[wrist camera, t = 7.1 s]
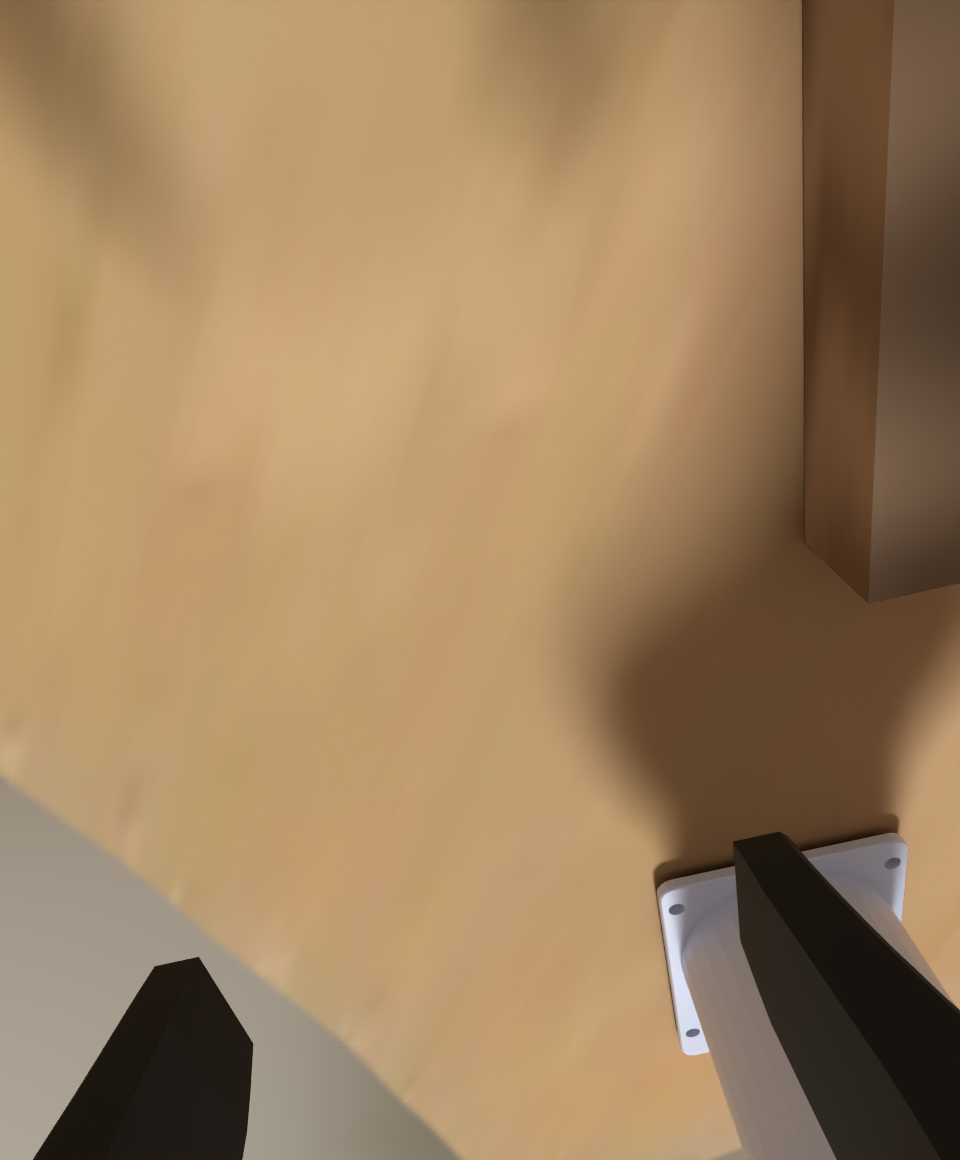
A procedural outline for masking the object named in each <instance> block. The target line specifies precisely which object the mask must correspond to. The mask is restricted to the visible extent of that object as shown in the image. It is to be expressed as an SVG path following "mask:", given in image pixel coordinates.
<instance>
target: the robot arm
mask: <svg viewBox="0 0 960 1160" xmlns="http://www.w3.org/2000/svg"><path fill="white" fill-rule="evenodd" d="M733 848H734V862H735V866H732V867H727V868H723V869H718V870H713V871H709V872H704V873H699V874H695V875H690V876H685V877H681V878H676V879H672V880H668V881H665V882H664V883H663V884H661V885H660V886H659V888H658V889H657V898H658V904H659V911H660V918H661V925H662V931H663V938H664V945H665V952H666V958H667V965H668V972H669V979H670V985H671V992H672V999H673V1005H674V1012H675V1019H676V1026H677V1032H678V1039H679V1044H680V1047H681V1050H682V1052H683V1053H685V1054H687V1055H698V1054H702V1053H707V1052H710V1054H711V1057H712V1060H713V1063H714V1066H715V1069H716V1072H717V1075H718V1078H719V1081H720V1084H721V1087H722V1090H723V1093H724V1096H725V1099H726V1102H727V1104H728V1107H729V1110H730V1113H731V1116H732V1119H733V1122H734V1125H735V1128H736V1131H737V1134H738V1137H739V1140H740V1143H741V1146H742V1149H743V1151H744V1154H745V1157H746V1160H960V1010H959V1009H958V1008H957V1007H956V1006H955V1005H954V1003H953V1002H952V1000H951V999H950V997H949V996H948V994H947V993H946V991H945V989H944V988H943V986H942V985H941V983H940V982H939V980H938V979H937V977H936V976H935V974H934V973H933V971H932V969H931V968H930V966H929V965H928V963H927V962H926V960H925V959H924V957H923V956H922V954H921V953H920V951H919V950H918V948H917V946H916V945H915V943H914V942H913V940H912V939H911V937H910V936H909V934H908V933H907V931H906V930H905V928H904V927H903V925H902V911H903V900H904V889H905V878H906V867H907V856H908V845H907V843H906V842H905V840H904V839H903V838H902V837H901V836H900V835H899V834H896V833H886V834H881V835H876V836H872V837H867V838H862V839H858V840H853V841H848V842H844V843H839V844H835V845H830V846H825V847H821V848H816V849H811V850H807V851H802V852H801V851H800V850H799V849H798V848H797V846H796V845H795V844H794V843H793V842H792V841H791V839H790V838H789V837H788V836H786V835H784V834H783V833H781V832H776V833H771V834H766V835H762V836H757V837H752V838H748V839H743V840H738V841H734V842H733ZM252 1056H253V1043H252V1041H251V1039H250V1038H249V1036H248V1035H247V1033H246V1032H245V1030H244V1028H243V1027H242V1025H241V1023H240V1022H239V1020H238V1019H237V1017H236V1016H235V1014H234V1012H233V1011H232V1009H231V1008H230V1006H229V1004H228V1003H227V1001H226V1000H225V998H224V996H223V995H222V993H221V992H220V990H219V988H218V987H217V985H216V984H215V982H214V980H213V979H212V977H211V976H210V974H209V973H208V971H207V969H206V968H205V966H204V965H203V963H202V961H201V960H200V958H199V957H196V958H192V959H187V960H183V961H178V962H173V963H169V964H164V965H159V966H155V967H154V969H153V970H152V972H151V973H150V974H149V976H148V978H147V979H146V981H145V983H144V984H143V986H142V987H141V989H140V990H139V992H138V994H137V995H136V997H135V998H134V1000H133V1001H132V1003H131V1005H130V1006H129V1008H128V1009H127V1011H126V1013H125V1014H124V1016H123V1017H122V1019H121V1021H120V1022H119V1024H118V1026H117V1027H116V1029H115V1030H114V1032H113V1034H112V1035H111V1037H110V1039H109V1040H108V1042H107V1043H106V1045H105V1047H104V1048H103V1050H102V1052H101V1053H100V1055H99V1056H98V1058H97V1060H96V1061H95V1063H94V1064H93V1066H92V1067H91V1069H90V1071H89V1072H88V1074H87V1076H86V1077H85V1079H84V1080H83V1082H82V1084H81V1085H80V1087H79V1088H78V1090H77V1092H76V1094H75V1095H74V1096H73V1098H72V1099H71V1101H70V1103H69V1104H68V1106H67V1107H66V1109H65V1110H64V1112H63V1114H62V1115H61V1117H60V1118H59V1120H58V1121H57V1123H56V1124H55V1126H54V1127H53V1129H52V1131H51V1132H50V1134H49V1135H48V1137H47V1138H46V1140H45V1142H44V1143H43V1145H42V1146H41V1148H40V1149H39V1151H38V1152H37V1154H36V1156H35V1157H34V1159H33V1160H242V1158H243V1152H244V1146H245V1140H246V1134H247V1125H248V1112H249V1102H250V1089H251V1073H252Z"/></svg>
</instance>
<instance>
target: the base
mask: <svg viewBox="0 0 960 1160" xmlns="http://www.w3.org/2000/svg"><path fill="white" fill-rule="evenodd" d="M803 145H804V385H805V544H806V545H807V546H808V547H810V548H811V549H812V550H813V551H814V552H815V553H816V554H817V555H818V556H819V557H820V558H821V559H822V560H823V561H824V562H825V563H826V564H827V565H829V566H830V567H831V568H832V569H833V570H834V571H835V572H836V573H837V574H838V575H839V576H840V577H841V578H842V579H843V580H844V581H845V582H846V583H847V584H849V585H850V586H851V587H852V588H853V589H854V590H855V591H856V592H857V593H858V594H859V595H860V596H861V597H862V598H863V599H864V600H865V601H866V602H868V603H872V602H876V601H881V600H885V599H890V598H894V597H899V596H903V595H908V594H912V593H917V592H921V591H926V590H930V589H935V588H939V587H943V586H948V585H952V584H957V583H960V0H803Z"/></svg>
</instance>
